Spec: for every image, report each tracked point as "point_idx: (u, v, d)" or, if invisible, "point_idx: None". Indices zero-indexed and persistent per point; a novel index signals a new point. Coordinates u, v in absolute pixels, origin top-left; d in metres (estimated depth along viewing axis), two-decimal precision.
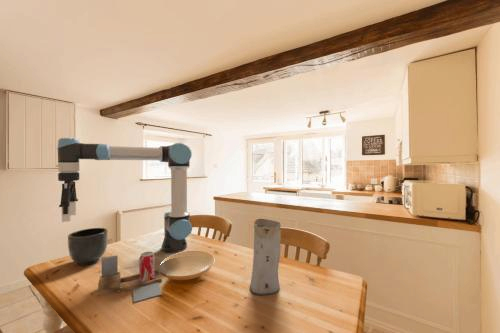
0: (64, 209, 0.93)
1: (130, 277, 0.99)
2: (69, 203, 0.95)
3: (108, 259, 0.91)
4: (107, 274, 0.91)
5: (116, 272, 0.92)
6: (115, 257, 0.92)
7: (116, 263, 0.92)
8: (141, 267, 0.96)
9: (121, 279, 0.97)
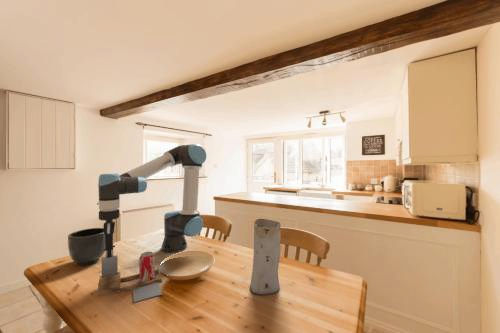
0: (108, 253, 0.92)
1: (130, 277, 0.99)
2: (112, 245, 0.93)
3: (108, 259, 0.91)
4: (107, 274, 0.91)
5: (116, 272, 0.92)
6: (115, 257, 0.92)
7: (116, 263, 0.92)
8: (141, 267, 0.96)
9: (121, 279, 0.97)
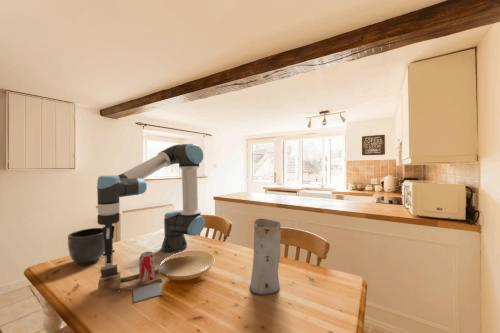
0: (107, 258, 0.88)
1: (130, 277, 0.99)
2: (112, 250, 0.90)
3: (107, 269, 0.87)
4: (107, 276, 0.90)
5: (116, 274, 0.92)
6: (115, 267, 0.88)
7: (116, 270, 0.90)
8: (141, 267, 0.96)
9: (121, 279, 0.97)
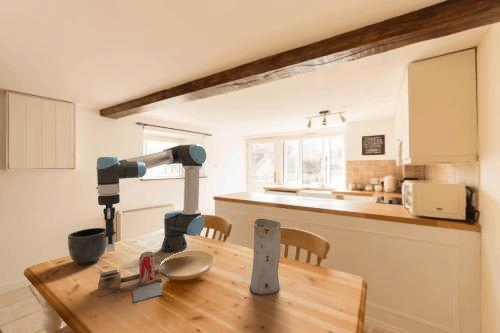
0: (109, 239, 0.88)
1: (130, 277, 0.99)
2: (113, 231, 0.90)
3: (107, 274, 0.86)
4: (107, 276, 0.90)
5: (116, 274, 0.92)
6: (115, 272, 0.87)
7: (116, 273, 0.89)
8: (141, 267, 0.96)
9: (121, 279, 0.97)
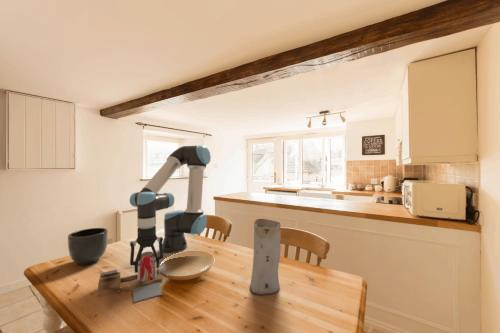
0: None
1: (130, 277, 0.99)
2: (138, 262, 0.96)
3: (107, 274, 0.86)
4: (107, 276, 0.90)
5: (116, 274, 0.92)
6: (115, 272, 0.87)
7: (116, 273, 0.89)
8: (141, 267, 0.96)
9: (121, 279, 0.97)
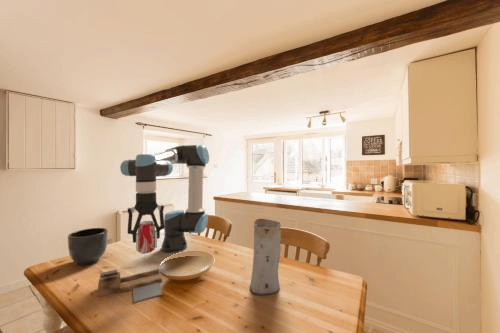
0: None
1: (130, 277, 0.99)
2: (136, 230, 0.86)
3: (107, 274, 0.86)
4: (107, 276, 0.90)
5: (116, 274, 0.92)
6: (115, 272, 0.87)
7: (116, 273, 0.89)
8: (140, 236, 0.86)
9: (121, 279, 0.97)
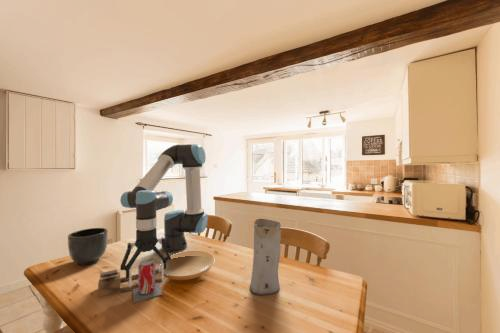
0: (126, 272, 0.85)
1: None
2: (130, 267, 0.85)
3: (107, 274, 0.86)
4: (107, 276, 0.90)
5: (116, 274, 0.92)
6: (115, 272, 0.87)
7: (116, 273, 0.89)
8: (140, 277, 0.86)
9: (121, 279, 0.97)
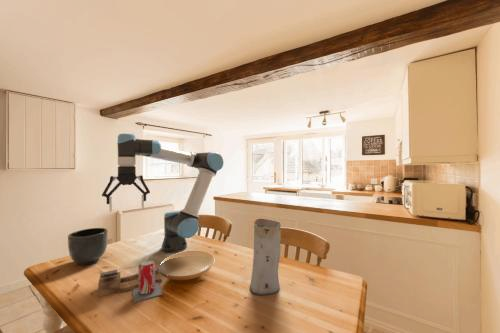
0: None
1: (130, 277, 0.99)
2: (110, 194, 1.01)
3: (107, 274, 0.86)
4: (107, 276, 0.90)
5: (116, 274, 0.92)
6: (115, 272, 0.87)
7: (116, 273, 0.89)
8: (140, 277, 0.86)
9: (121, 279, 0.97)
